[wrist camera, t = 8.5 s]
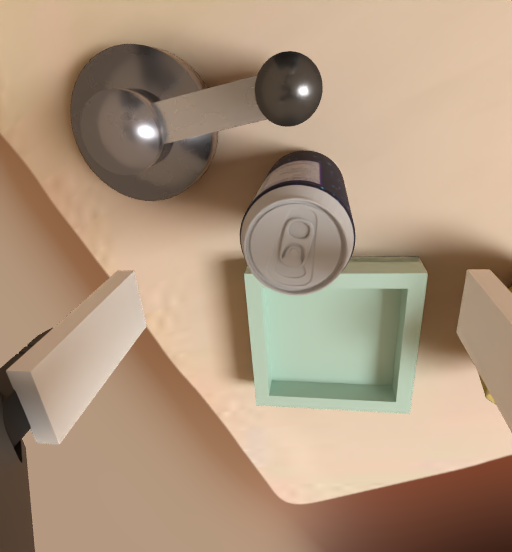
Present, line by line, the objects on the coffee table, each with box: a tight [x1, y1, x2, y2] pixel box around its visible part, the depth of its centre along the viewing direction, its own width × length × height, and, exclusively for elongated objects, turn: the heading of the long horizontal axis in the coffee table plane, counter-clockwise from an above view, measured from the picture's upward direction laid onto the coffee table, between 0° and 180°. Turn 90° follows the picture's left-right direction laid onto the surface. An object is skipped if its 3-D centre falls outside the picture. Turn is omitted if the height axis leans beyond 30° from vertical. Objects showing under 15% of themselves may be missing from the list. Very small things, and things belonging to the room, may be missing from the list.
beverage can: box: [240, 151, 355, 296], centre depth 23 cm, size 6×6×12 cm
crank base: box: [71, 44, 218, 201], centre depth 27 cm, size 10×10×2 cm
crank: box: [80, 51, 322, 175], centre depth 21 cm, size 15×5×9 cm, turn 103°
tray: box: [244, 257, 428, 414], centre depth 32 cm, size 13×13×3 cm
